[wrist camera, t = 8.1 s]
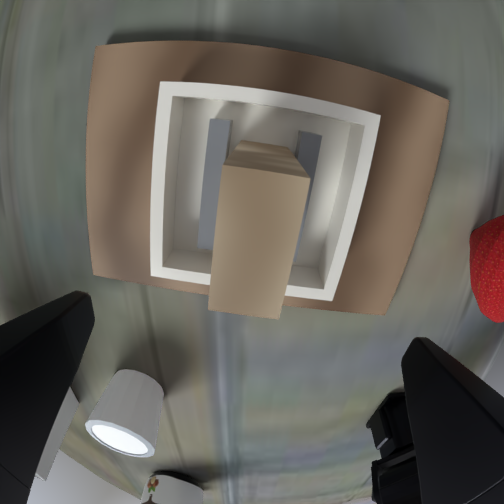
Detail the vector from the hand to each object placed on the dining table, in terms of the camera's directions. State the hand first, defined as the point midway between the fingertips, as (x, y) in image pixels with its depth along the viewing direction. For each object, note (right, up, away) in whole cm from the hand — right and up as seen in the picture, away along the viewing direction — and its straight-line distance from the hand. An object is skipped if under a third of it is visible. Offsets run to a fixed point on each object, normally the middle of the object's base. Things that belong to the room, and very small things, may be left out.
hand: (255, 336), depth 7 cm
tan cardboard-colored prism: (0, +6, +9) cm, 11 cm away
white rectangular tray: (0, +6, +10) cm, 11 cm away
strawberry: (+17, +3, +12) cm, 21 cm away
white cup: (-12, -12, +20) cm, 26 cm away
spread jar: (-13, -39, +34) cm, 53 cm away
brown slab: (0, +6, +11) cm, 12 cm away
